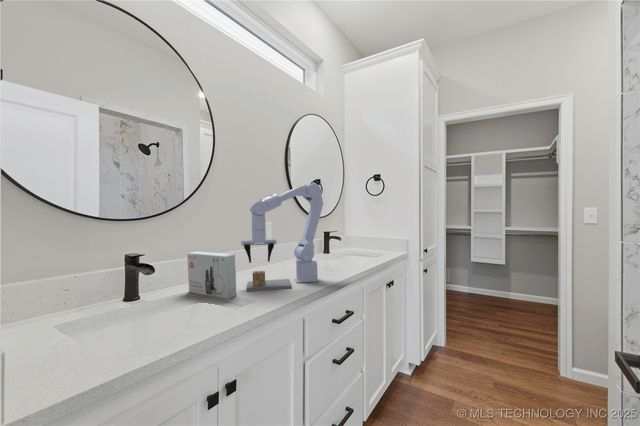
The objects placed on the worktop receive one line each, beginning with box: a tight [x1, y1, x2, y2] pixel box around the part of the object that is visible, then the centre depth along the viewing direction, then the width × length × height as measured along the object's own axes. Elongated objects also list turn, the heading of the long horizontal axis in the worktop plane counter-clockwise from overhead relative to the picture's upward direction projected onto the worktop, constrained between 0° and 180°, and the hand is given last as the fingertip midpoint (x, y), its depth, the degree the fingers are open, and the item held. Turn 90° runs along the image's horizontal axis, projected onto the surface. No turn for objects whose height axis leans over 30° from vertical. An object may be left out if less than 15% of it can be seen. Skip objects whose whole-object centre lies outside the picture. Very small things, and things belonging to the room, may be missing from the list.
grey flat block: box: [245, 270, 293, 293], centre depth 123 cm, size 18×12×7 cm, turn 101°
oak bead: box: [252, 270, 266, 286], centre depth 122 cm, size 5×5×5 cm
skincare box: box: [186, 251, 238, 300], centre depth 113 cm, size 21×5×16 cm, turn 62°
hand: (259, 261), depth 124 cm, fingers open, 7 cm apart
